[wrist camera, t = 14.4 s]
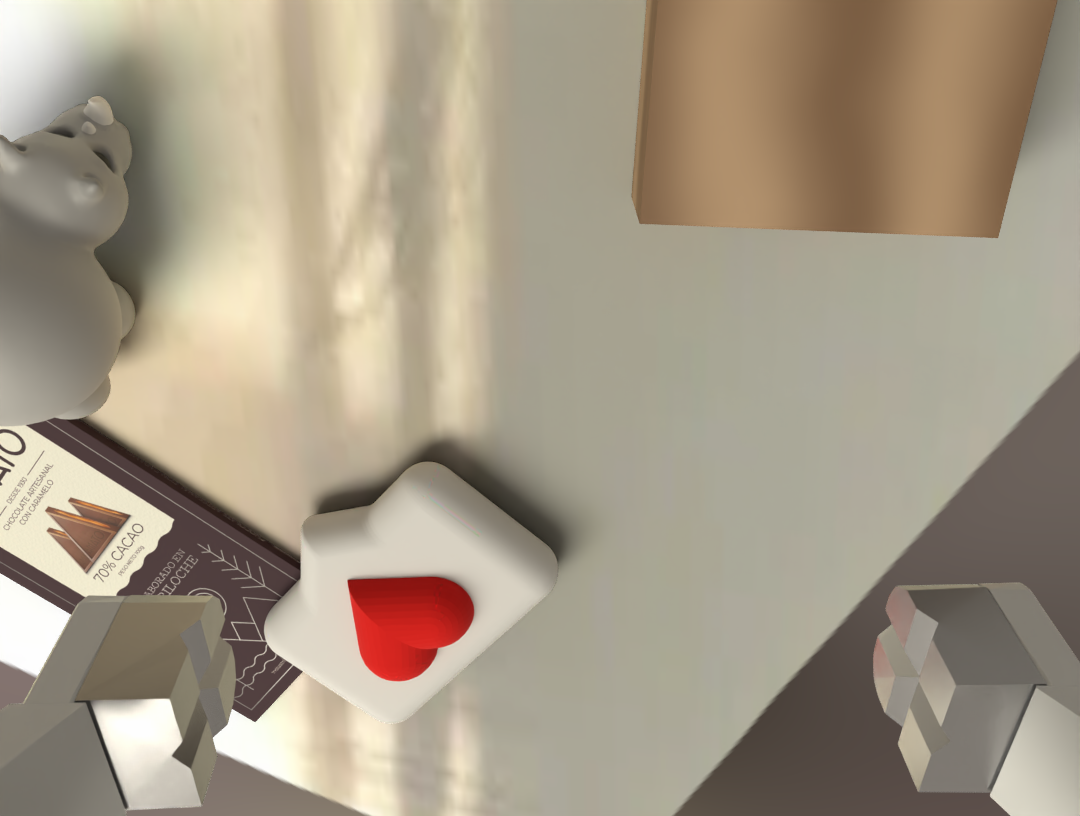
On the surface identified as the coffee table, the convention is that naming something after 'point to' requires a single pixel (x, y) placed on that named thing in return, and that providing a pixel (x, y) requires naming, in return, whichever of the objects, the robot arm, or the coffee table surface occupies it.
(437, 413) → the coffee table surface
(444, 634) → the icon
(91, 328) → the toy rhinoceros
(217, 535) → the chocolate bar
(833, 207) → the block
